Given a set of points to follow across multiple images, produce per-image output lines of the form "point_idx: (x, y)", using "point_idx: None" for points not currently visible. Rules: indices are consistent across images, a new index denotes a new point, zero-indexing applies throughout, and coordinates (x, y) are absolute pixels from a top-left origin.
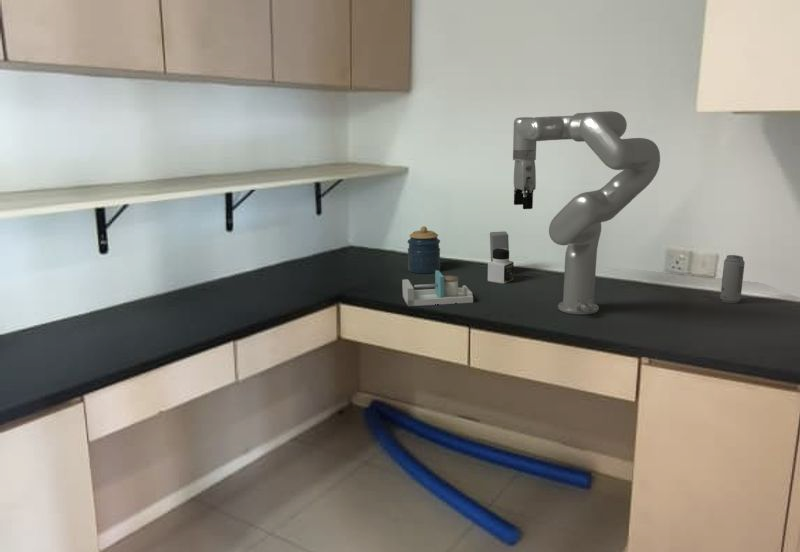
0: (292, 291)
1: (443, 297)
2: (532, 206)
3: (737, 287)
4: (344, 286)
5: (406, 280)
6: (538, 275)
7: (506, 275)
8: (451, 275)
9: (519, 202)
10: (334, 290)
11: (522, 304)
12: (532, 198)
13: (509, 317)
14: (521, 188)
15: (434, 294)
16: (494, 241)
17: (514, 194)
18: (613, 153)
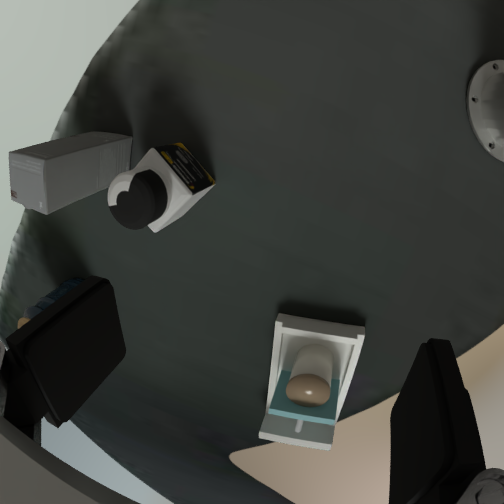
0: (205, 478)
1: (339, 384)
2: (454, 355)
3: None
4: (187, 440)
5: (267, 435)
6: (153, 59)
7: (199, 177)
8: (289, 383)
9: (107, 328)
10: (207, 454)
11: (429, 223)
12: (472, 443)
13: (493, 297)
14: None
15: (279, 373)
16: (61, 202)
17: (65, 420)
18: None
